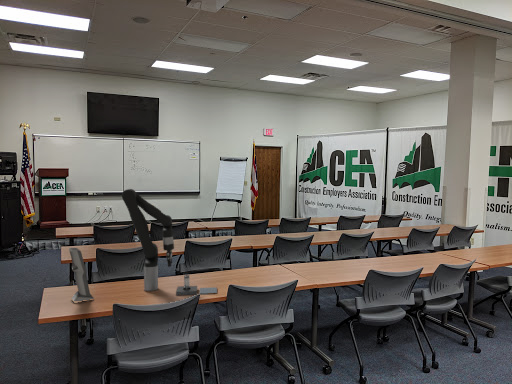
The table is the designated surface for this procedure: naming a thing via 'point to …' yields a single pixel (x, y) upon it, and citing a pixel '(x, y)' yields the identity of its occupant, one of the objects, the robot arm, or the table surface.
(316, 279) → the table surface
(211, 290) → the rubber mat
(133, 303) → the table surface
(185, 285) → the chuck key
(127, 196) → the robot arm
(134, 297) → the table surface
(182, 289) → the chuck plate
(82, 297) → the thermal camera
